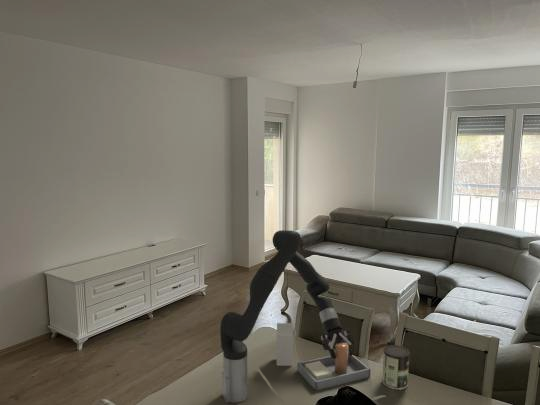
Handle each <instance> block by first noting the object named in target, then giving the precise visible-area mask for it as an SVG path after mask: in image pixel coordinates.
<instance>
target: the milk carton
mask: <svg viewBox="0 0 540 405" xmlns="http://www.w3.org/2000/svg"><path fill="white" fill-rule="evenodd" d="M293 359H294V323H292V322H287V323H286V322H277V323H276V366H279V367H280V366H284V367H287V366H288V367H290V366H291V367H293V364H294V363H293V362H294V360H293Z"/></svg>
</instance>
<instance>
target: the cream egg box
mask: <svg viewBox="0 0 540 405" xmlns="http://www.w3.org/2000/svg"><path fill="white" fill-rule="evenodd" d="M305 369H306V370H307V371H308V372H309V373H310V374H311V375H312V376H313V377H314V379H315V380H316V381H318V380H322V379H326V378H331V377H332V373H331V372H330V371H329V370H328V369H327V368H326V367H325V366H324V365H323V364H322V363H321V362H320V361H317V362H313V363H308V364H305Z"/></svg>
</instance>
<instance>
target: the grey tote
mask: <svg viewBox="0 0 540 405" xmlns="http://www.w3.org/2000/svg"><path fill="white" fill-rule="evenodd" d="M317 361H320V362H321V363H322V364H323V365H324V366H325V367H326V368H327V369H328V370H329V371H330V372H331V373H332V377H331V378H326V379H322V380H318V381H316V380H315V379H314V377H313V376H312V375H311V374H310V373H309V372H308V371H307V370H306V369H305V364H308V363H313V362H317ZM297 372H298V373H299V374H300V375H301V376H302V377H303V378H304V379H305V381H306V382H307V383H308V384H309V385H310V386H311V387H312V388H313V389H314V390H315V391H316V392H317V391H320V390H323V389H328V388H332V387H336V386H340V385H344V384H348V383H352V382H356V381H360V380H364V379H368V378H369V379H370V378H371V368H370V367H368V366H367V365H366V364H365V363H363V362H362V361H361V360H360V359H359V358H357V357H356V356H355V355H354V354H353V355H351V356H350V354H349V351H348V372H347V374H343V375H338V374H336V373H335V359H333V358H331V355H328V356H323V357H319V358H315V359H309V360H305V361H300V362H297Z"/></svg>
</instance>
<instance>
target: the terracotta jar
mask: <svg viewBox="0 0 540 405" xmlns="http://www.w3.org/2000/svg"><path fill="white" fill-rule="evenodd" d="M334 345H335V348H334V352H335V355H336V358H335V373H336V374H338V375H343V374H347V372H348V352H349V351H348V348H349V345H348V344H347V343H344V342H338V343H336V344H334Z"/></svg>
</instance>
